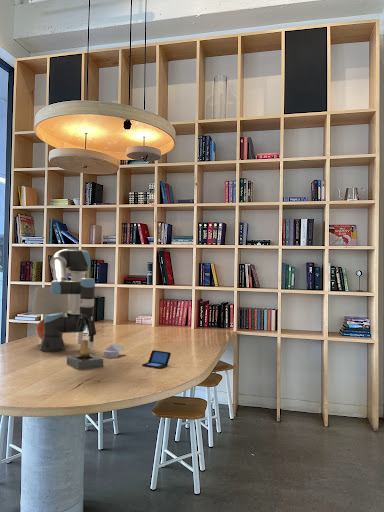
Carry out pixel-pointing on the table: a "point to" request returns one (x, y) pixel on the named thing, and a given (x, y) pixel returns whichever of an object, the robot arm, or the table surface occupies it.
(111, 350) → the wedge on round base
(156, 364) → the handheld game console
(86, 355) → the golden brown cylinder
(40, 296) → the lamp
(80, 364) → the jig block
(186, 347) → the table surface
